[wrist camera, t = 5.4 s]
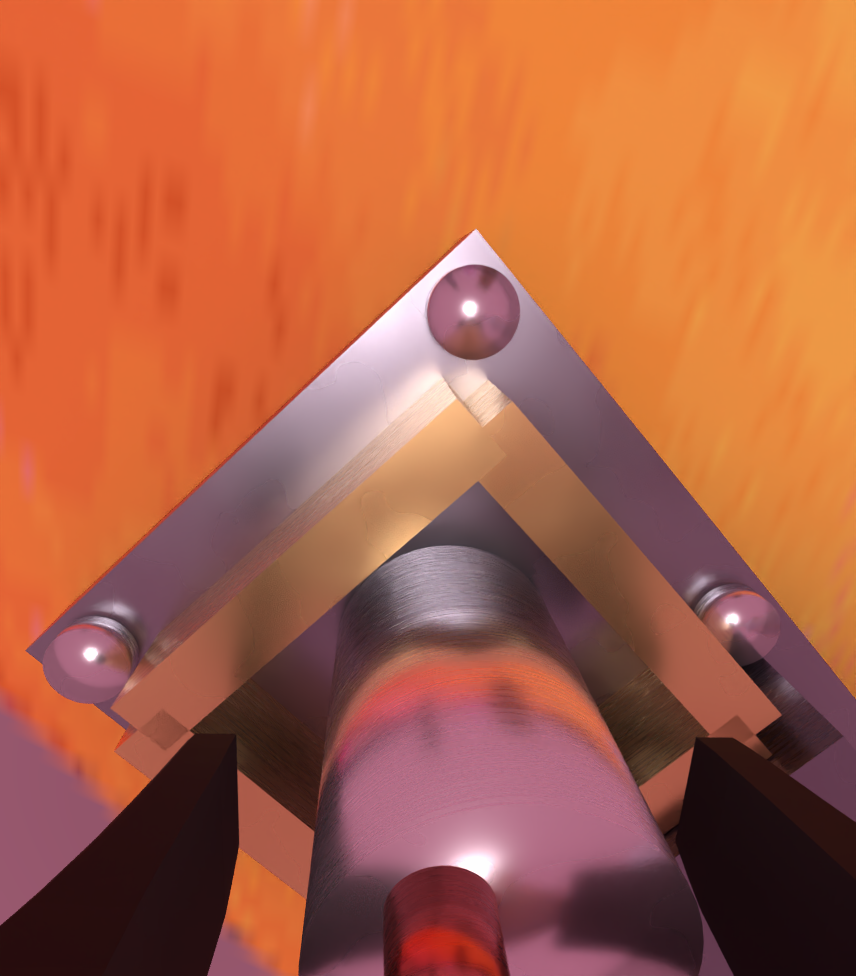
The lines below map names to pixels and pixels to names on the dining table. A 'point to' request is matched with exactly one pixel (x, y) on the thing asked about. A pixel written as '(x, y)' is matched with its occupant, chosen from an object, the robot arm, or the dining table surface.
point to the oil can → (479, 796)
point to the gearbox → (438, 522)
